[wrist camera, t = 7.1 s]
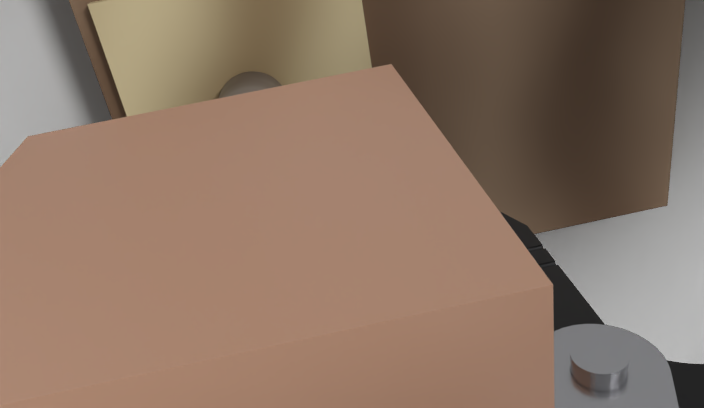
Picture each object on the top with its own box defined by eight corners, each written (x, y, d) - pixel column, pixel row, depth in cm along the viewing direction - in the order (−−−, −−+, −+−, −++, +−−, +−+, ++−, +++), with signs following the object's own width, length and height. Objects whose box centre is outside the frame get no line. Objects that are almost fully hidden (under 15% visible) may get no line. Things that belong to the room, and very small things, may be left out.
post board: (671, -237, 17) (1041, -339, 9) (643, 186, 23) (848, 349, 15) (42, -123, 16) (-163, -123, 8) (185, 283, 22) (147, 509, 14)
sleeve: (391, 63, 10) (551, 284, 4) (428, 341, 12) (557, 686, 7) (27, 136, 9) (-259, 462, 4) (144, 403, 12) (60, 810, 7)
